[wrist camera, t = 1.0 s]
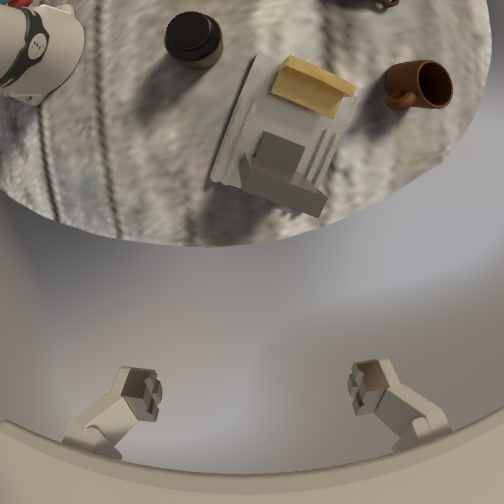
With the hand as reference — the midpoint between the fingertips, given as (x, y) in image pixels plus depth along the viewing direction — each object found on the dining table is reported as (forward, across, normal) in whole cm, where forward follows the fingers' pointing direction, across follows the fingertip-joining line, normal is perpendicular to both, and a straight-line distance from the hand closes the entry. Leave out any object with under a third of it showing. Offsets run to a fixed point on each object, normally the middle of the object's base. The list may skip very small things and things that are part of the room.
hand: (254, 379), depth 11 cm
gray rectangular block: (+34, -4, -4) cm, 34 cm away
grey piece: (+36, -5, -7) cm, 37 cm away
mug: (+37, -24, -16) cm, 47 cm away
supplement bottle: (+35, +6, -21) cm, 41 cm away
